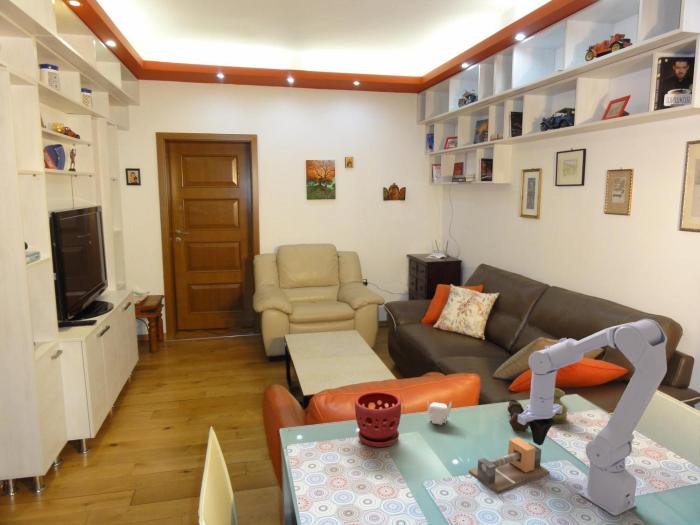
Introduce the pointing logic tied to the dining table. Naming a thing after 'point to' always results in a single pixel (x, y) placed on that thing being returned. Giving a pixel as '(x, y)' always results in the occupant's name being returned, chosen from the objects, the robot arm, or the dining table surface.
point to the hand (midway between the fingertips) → (537, 443)
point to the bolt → (516, 416)
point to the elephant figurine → (438, 412)
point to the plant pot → (378, 418)
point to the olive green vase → (557, 395)
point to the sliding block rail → (507, 471)
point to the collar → (522, 454)
